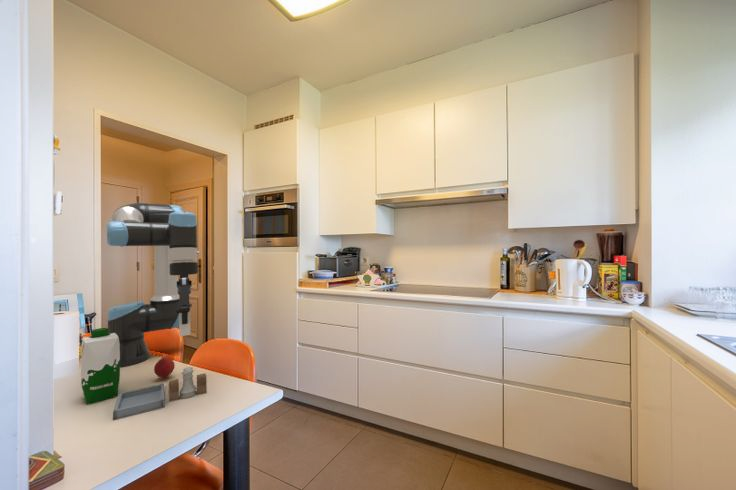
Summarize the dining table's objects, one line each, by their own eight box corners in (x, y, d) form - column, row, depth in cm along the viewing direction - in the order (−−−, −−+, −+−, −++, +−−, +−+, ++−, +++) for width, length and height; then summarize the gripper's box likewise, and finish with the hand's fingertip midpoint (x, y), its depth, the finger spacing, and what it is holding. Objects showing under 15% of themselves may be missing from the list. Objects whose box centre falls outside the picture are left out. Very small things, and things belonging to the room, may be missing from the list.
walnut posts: (169, 397, 91) (168, 380, 91) (205, 389, 96) (205, 373, 96) (169, 401, 88) (169, 384, 88) (206, 392, 94) (206, 376, 94)
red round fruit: (167, 381, 103) (166, 357, 103) (150, 382, 103) (149, 358, 103) (178, 374, 108) (177, 352, 109) (162, 375, 109) (162, 352, 109)
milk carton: (117, 387, 99) (117, 325, 99) (121, 396, 93) (121, 330, 93) (80, 397, 93) (80, 331, 93) (82, 407, 86) (82, 336, 87)
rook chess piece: (200, 392, 94) (199, 366, 94) (188, 399, 89) (187, 371, 90) (188, 391, 95) (187, 365, 95) (175, 398, 91) (175, 370, 91)
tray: (119, 400, 90) (119, 393, 90) (164, 390, 96) (164, 383, 96) (113, 420, 79) (112, 411, 79) (164, 407, 85) (164, 399, 85)
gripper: (199, 259, 86) (200, 336, 85) (196, 262, 107) (198, 324, 106) (167, 261, 82) (168, 341, 81) (171, 263, 104) (172, 327, 102)
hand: (185, 331), depth 93 cm, fingers open, 13 cm apart
